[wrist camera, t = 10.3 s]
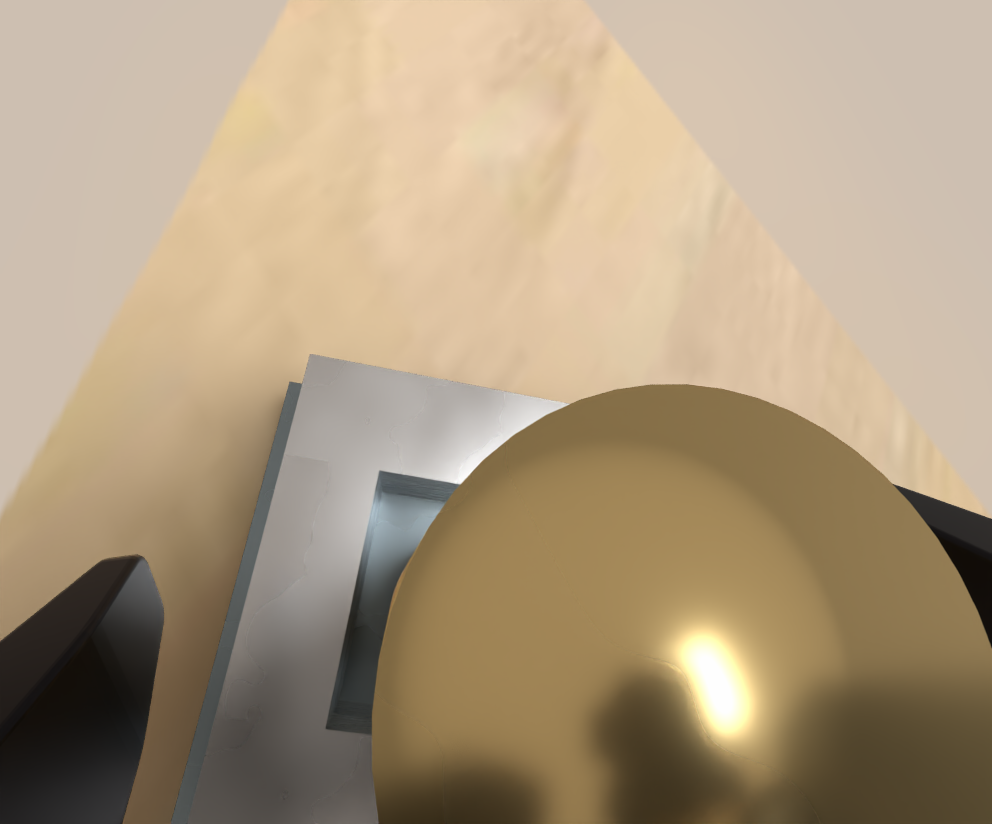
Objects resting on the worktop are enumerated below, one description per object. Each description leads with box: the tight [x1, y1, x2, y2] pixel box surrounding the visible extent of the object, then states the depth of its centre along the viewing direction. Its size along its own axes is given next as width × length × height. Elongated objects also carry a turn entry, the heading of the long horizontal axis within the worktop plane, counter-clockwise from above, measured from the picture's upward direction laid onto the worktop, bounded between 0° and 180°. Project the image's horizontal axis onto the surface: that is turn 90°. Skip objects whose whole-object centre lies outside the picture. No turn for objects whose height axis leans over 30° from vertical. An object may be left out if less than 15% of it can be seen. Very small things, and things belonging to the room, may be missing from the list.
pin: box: [372, 384, 992, 824], centre depth 9 cm, size 4×4×12 cm
